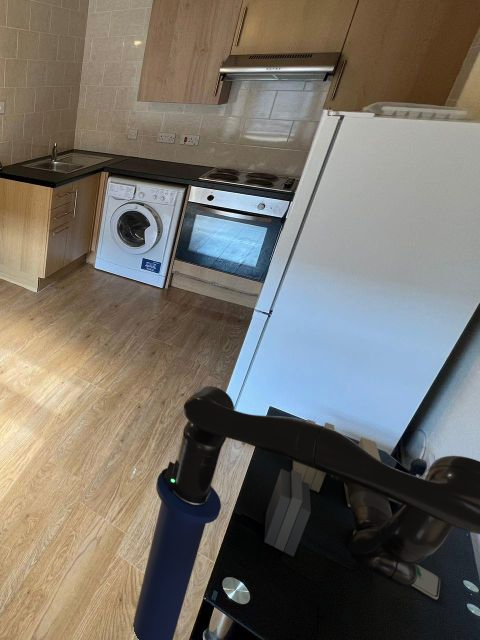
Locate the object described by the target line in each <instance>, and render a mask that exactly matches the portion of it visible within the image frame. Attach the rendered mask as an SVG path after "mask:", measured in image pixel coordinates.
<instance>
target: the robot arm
mask: <svg viewBox="0 0 480 640" xmlns="http://www.w3.org/2000/svg"><path fill="white" fill-rule="evenodd" d="M232 399H233V398H231V396H230V395H229V394H228V393H227V392H226V391H225V390H223V389H222V388H220V387H217V386H214V385H208V386H207V385H206V386H203V387H201V388H199V389H198V390H197V391H196V392H195V393H193V394H192V395H191V396H189V397H188V399H186V401H185V402H184V404H183V408H182V411H183V414H184V416H185V419H186V420H187V422H186V424H185V425H184V427H183V429H182V433H181V438H180V441H179V446H178V449H177V450H178V451H177V454H176V458H175V460H174V462H172V461H169V462H168V464H167V467H166V468H164V469H162V470H161V472H162V477H163V480H164V481H166V480H169V481H170V485H169V489H168V490H169V491H171V492H172V493H173V494H174V495H175V496H176V497H177V498H178V499H179V500H181V501H182V502H184V503H186V504H188V505H191V506H203V505H205V504H206V502H207V499H208V497H209V495H210V493H209V490H210V487H211V486H212V483H213V479H214V475H215V472H216V469H217V466H218V463H219V462H218V461H219V457H220V454H221V451H222V447H223V446H224V443H225V442H226V440H227V439H230V440H234V441H238V442H241V443H244V444H247V445H249V446H253V447H255V448H258V449H260V450H264V451H266V452H269V453H272V454H275V455H278V456H280V457H283V458H284V459H285V458H286V459H288V460H290V461H292V462H293V461H295V462H297V463H300V464H303V465H305V466H308V467H311V468H313V469H316V470H319V471H322V472H325V473H326V474H328V475H330V479H331V480H332V481H334V482H337V481H340V482H343V484H344V483H345V484H346V485H347V487H348V494H349V503H350V506H351V507H350V510H351V513H352V516H353V521H354V526H355V530H357V532H356V533H354V532H353V533H354V534H353V533H352V534H351V536H350V537H349V538H348V542H347V550H348V553H349V555H350V557H351V558H352V559H353V561H354V562H355V563H356V564H358V565H359V566H361V567H363V568H365V569H366V570H368V571H370V572H372V573H374V574H375V575H378V576H380V577H382V578H383V579H385V580H387V581H389V582H391V583H393V584H395V585H398V586H401V587H410V586H411V585H412V584H414V583H415V582H416V580H417V575H418V573H417V567H416V564H417V565H418V564H420V563H422V561H424V560H425V559H427V558H429V557H430V556H431V555H432V554H434V553H435V552H437V550H439V548H440V547H441V546H442V545H443V543H444V542H445V540H446V539H447V538H448V536H449V534H450V532H451V531H452V530H453V528H454V527H455V528H457V529H461V530H462V531H466V532H468V533H471V534H472V533H473V534H477V535H480V460H477V459H474V458H471V457H468V456H467V457H466V456H462V455H446V456H441V457H439V458H438V459H435V460H434V461H433V462H432V463H431V465H430V466H429V468H428V471H427V475H426V477H425V478H421V477H419V476H417V475H412V474H410V473H407V472H404V471H402V470H399V469H397V468H394V467H392V466H390V465H388V464H386V463H384V462H382V460H381V461H379V460H377V459H376V458H374V457H373V456H372V455H370V454H369V453H367V452H366V451H365V450H364V449H362V448H361V447H360V446H358V444H357V443H356V442H355V441H353V440H351V439H350V438H349V437H347V436H346V435H344V434H343V433H341V432H339V431H337V430H333V429H331V428H328V427H324V426H325V425H321V424H317V423H316V422H315V423H316V424H315V423H311V422H308V421H307V420H305V419H300V418H297V417H292V416H291V417H288V416H279V415H260V414H249V413H245V412H241V411H238V410H235V404H234V402H233V400H232ZM165 473H166V474H165ZM210 492H211V491H210ZM390 502H393V504H394V505H395V506H396V507H399V509H398V511H396V512H395V513H394V514H393V511H392V508H391V503H390Z"/></svg>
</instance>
